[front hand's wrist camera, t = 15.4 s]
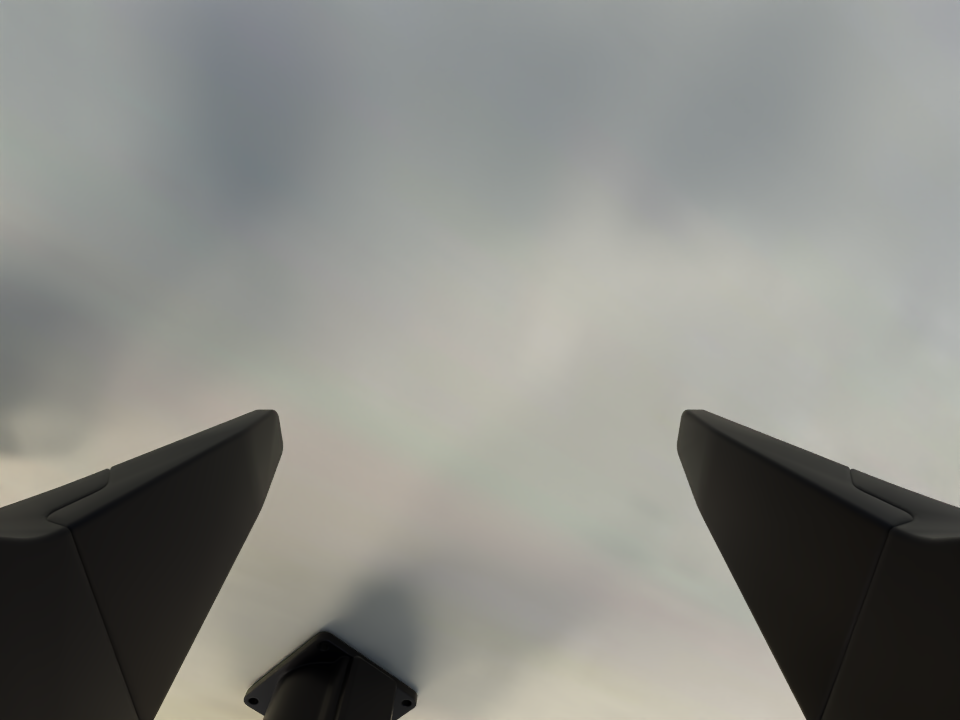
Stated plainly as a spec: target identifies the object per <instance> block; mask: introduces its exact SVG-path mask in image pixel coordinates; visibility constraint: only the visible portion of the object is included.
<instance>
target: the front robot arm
mask: <svg viewBox="0 0 960 720" xmlns="http://www.w3.org/2000/svg"><path fill="white" fill-rule="evenodd" d="M282 451H283V440H282V434H281V428H280V422H279V416H278V414H277V412H276V411H275V410H255V411H252V412H250V413H247V414H245V415H242V416H240V417H237V418H235V419H232V420H230V421H227V422H224V423H222V424H219V425H217V426H214V427H212V428H209V429H207V430H204V431H202V432H199V433H197V434H194V435H191V436H189V437H186V438H184V439H181V440H179V441H176V442H174V443H171V444H169V445H166V446H164V447H161V448H158V449H156V450H153V451H151V452H148V453H146V454H143V455H141V456H138V457H136V458H133V459H131V460H128V461H126V462H123V463H120V464H118V465H115V466H113V467H111V469H105V470H102V471H100V472H97V473H95V474H92V475H90V476H87V477H85V478H82V479H79V480H77V481H74V482H71V483H69V484H66V485H64V486H61V487H58V488H55V489H53V490H50V491H47V492H44V493H42V494H39V495H36V496H33V497H30V498H28V499H25V500H22V501H19V502H16V503H13V504H10V505H8V506H5V507H2V508H0V720H154V718H155V716H156V714H157V712H158V710H159V708H160V706H161V704H162V702H163V700H164V698H165V697H166V695H167V693H168V691H169V689H170V687H171V685H172V683H173V681H174V679H175V677H176V675H177V673H178V671H179V669H180V667H181V665H182V663H183V661H184V659H185V657H186V656H187V654H188V652H189V650H190V648H191V646H192V644H193V642H194V640H195V638H196V636H197V634H198V632H199V630H200V628H201V626H202V624H203V622H204V620H205V618H206V617H207V615H208V613H209V611H210V609H211V607H212V605H213V603H214V601H215V599H216V597H217V595H218V593H219V591H220V589H221V587H222V585H223V583H224V581H225V579H226V577H227V576H228V574H229V572H230V570H231V568H232V566H233V564H234V562H235V560H236V558H237V556H238V554H239V552H240V550H241V548H242V546H243V544H244V542H245V540H246V538H247V536H248V535H249V533H250V531H251V529H252V527H253V525H254V523H255V521H256V519H257V517H258V515H259V513H260V511H261V509H262V506H263V504H264V501H265V499H266V496H267V493H268V490H269V488H270V485H271V482H272V480H273V477H274V474H275V471H276V469H277V466H278V463H279V460H280V458H281V455H282ZM677 451H678V455H679V458H680V460H681V463H682V466H683V469H684V471H685V474H686V477H687V480H688V482H689V485H690V488H691V490H692V493H693V496H694V499H695V501H696V504H697V506H698V509H699V511H700V513H701V515H702V517H703V519H704V521H705V523H706V525H707V527H708V529H709V531H710V533H711V535H712V536H713V538H714V540H715V542H716V544H717V546H718V548H719V550H720V552H721V554H722V556H723V558H724V560H725V562H726V564H727V566H728V568H729V570H730V572H731V574H732V576H733V577H734V579H735V581H736V583H737V585H738V587H739V589H740V591H741V593H742V595H743V597H744V599H745V601H746V603H747V605H748V607H749V609H750V611H751V613H752V615H753V617H754V618H755V620H756V622H757V624H758V626H759V628H760V630H761V632H762V634H763V636H764V638H765V640H766V642H767V644H768V646H769V648H770V650H771V652H772V654H773V656H774V657H775V659H776V661H777V663H778V665H779V667H780V669H781V671H782V673H783V675H784V677H785V679H786V681H787V683H788V685H789V687H790V689H791V691H792V693H793V695H794V697H795V698H796V700H797V702H798V704H799V706H800V708H801V710H802V712H803V714H804V716H805V718H806V720H960V508H958V507H955V506H952V505H950V504H947V503H944V502H941V501H938V500H935V499H932V498H930V497H927V496H924V495H921V494H918V493H916V492H913V491H910V490H907V489H905V488H902V487H899V486H896V485H894V484H891V483H889V482H886V481H883V480H881V479H878V478H875V477H873V476H870V475H868V474H865V473H863V472H860V471H858V470H855V469H851V470H850V469H849V467H847V466H845V465H842V464H840V463H837V462H834V461H832V460H829V459H827V458H824V457H822V456H819V455H817V454H814V453H812V452H809V451H807V450H804V449H802V448H799V447H796V446H794V445H791V444H789V443H786V442H784V441H781V440H779V439H776V438H774V437H771V436H769V435H766V434H763V433H761V432H758V431H756V430H753V429H751V428H748V427H746V426H743V425H741V424H738V423H736V422H733V421H730V420H728V419H725V418H723V417H720V416H718V415H715V414H713V413H710V412H708V411H705V410H685V411H684V412H683V414H682V416H681V422H680V428H679V434H678V440H677ZM244 702H245V704H246V705H247V706H249V707H250V708H252V709H254V710H255V711H257V712H259V713H260V714H262V715H264V718H263V720H397V719H399V718H400V717H401V716H403V715H404V714H406V713H407V712H409V711H410V710H412V709H413V708H414V707H415V706H416V703H417V693H416V692H415V691H414V690H412V689H411V688H409V687H408V686H407V685H405V684H404V683H402V682H401V681H399V680H398V679H396V678H395V677H393V676H392V675H391V674H389V673H388V672H386V671H385V670H383V669H382V668H380V667H379V666H377V665H376V664H375V663H373V662H372V661H370V660H369V659H367V658H366V657H364V656H363V655H361V654H360V653H359V652H357V651H356V650H354V649H353V648H351V647H350V646H348V645H347V644H345V643H344V642H343V641H341V640H340V639H338V638H337V637H335V636H334V635H332V634H330V633H328V632H321V633H319V634H317V635H316V636H314V637H313V638H312V639H311V640H309V641H308V642H307V643H306V644H304V645H303V646H302V647H301V648H299V649H298V650H297V651H296V652H294V653H293V654H292V655H291V656H289V657H288V658H287V659H286V660H284V661H283V662H282V663H281V664H279V665H278V666H277V667H276V668H274V669H273V670H272V671H271V672H269V673H268V674H267V675H266V676H264V677H263V678H262V679H260V680H259V681H258V682H257V683H255V684H254V685H253V686H252V687H250V688H249V689H248V691H247V693H246V695H245V697H244Z"/></svg>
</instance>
